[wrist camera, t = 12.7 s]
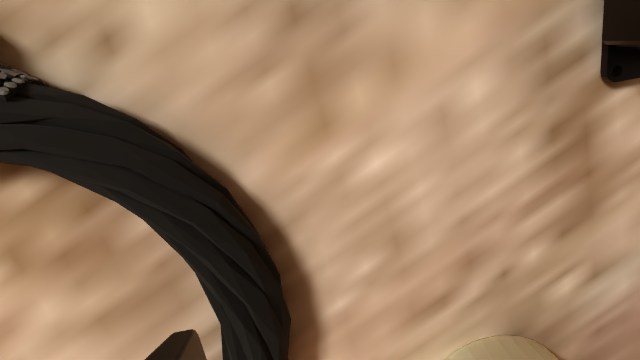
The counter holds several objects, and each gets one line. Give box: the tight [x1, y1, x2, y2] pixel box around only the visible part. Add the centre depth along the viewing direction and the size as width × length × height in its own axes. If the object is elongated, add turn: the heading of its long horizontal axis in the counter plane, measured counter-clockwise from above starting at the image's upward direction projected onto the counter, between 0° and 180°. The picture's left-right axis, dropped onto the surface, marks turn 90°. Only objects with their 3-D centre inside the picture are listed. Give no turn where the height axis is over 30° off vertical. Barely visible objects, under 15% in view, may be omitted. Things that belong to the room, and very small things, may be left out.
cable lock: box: [0, 64, 291, 360], centre depth 21 cm, size 28×4×30 cm
